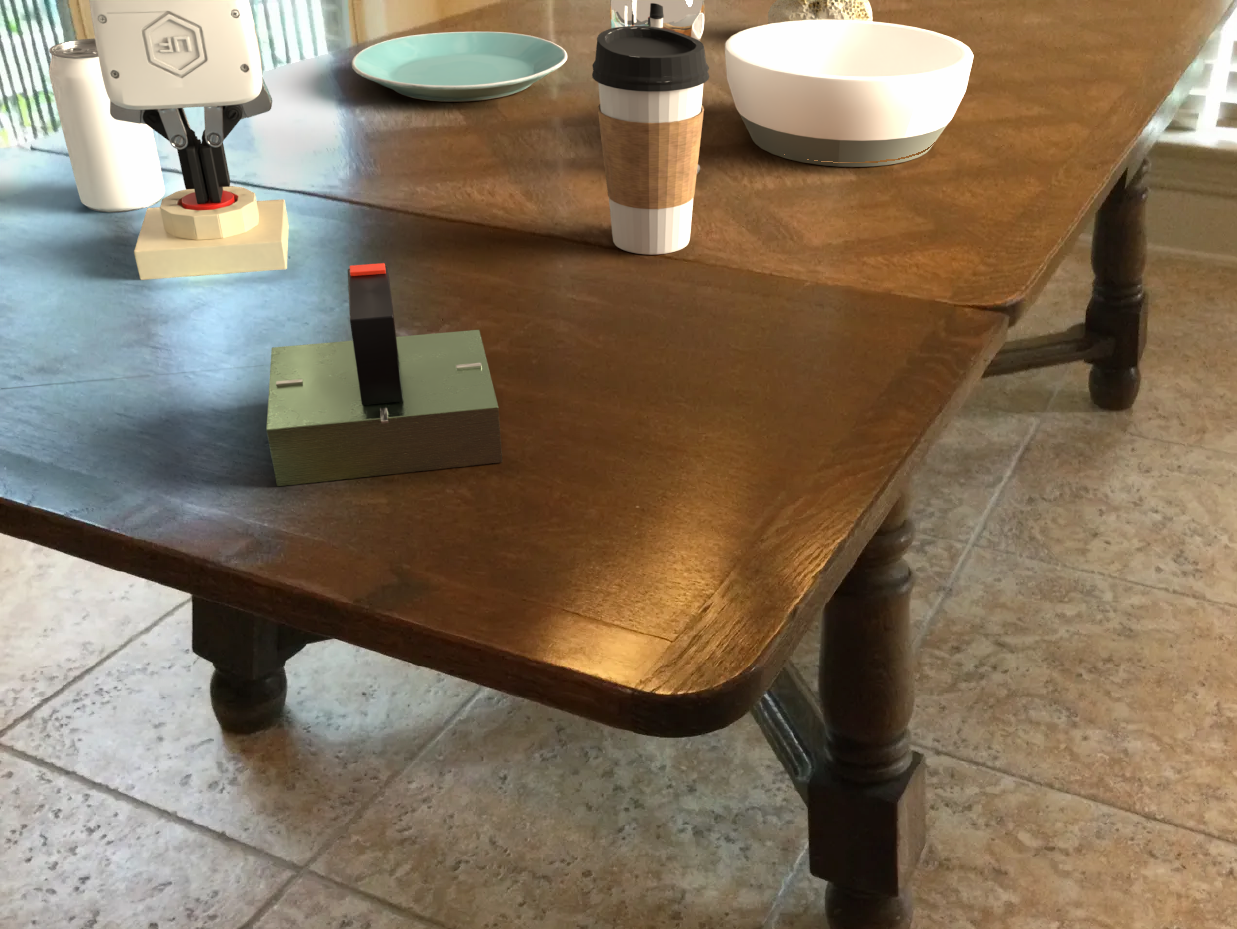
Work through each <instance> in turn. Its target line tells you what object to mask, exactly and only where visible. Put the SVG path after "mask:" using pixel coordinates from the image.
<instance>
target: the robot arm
mask: <svg viewBox="0 0 1237 929" xmlns="http://www.w3.org/2000/svg"><path fill="white" fill-rule="evenodd" d="M88 2H89V3H88V4H89V10H90V17H91V22H92V28H93V29H92V30H93V35H94V39H95V41H96V46H97V52H98V57H99V63H100V68H101V73H102V78H103V82H104V86H105V89H106V92H107V95H108V97H109V99H110V115H111V116H112V117H113V118H114V119H116V120H120V121H126V122H132V123H138V124H147V125H148V126H149V127H151V128H152V129H153V131H154V132H156V133H157V134H158V135H160V136H162V137H163V138H164V139H166V141H168V142H169V143H170V145H171V146H172V147H173V148H174V149H175V150H177V156H178V161H179V165H180V170H181V174H182V180H183V185H184V187H185V190H186V189H194V190H195V195H196V200H197V203H198V204H205V202H208V199H210V201H213V203H221V199H222V193H223V187H230V186H231V177H230V170H229V167H228V162H227V156H226V150H225V145H224V141H225V140H226V139H227V137H228V136H229V135H230V133H231V132H232V131H233V130H234V129H235V127H237V125H238V124H239V122H240V121H241V120H244V119H249V118H253V117H255V116H259V115H262V114H265V113H268V112H269V111H271V109H272V107H273V98H272V95H271V93H270V90H269V89H268V86H267V84H266V82H265V78H264V77H263V61H262V55H261V48H260V43H259V39H258V34H257V29H256V25H255V21H254V17H253V12H252V7H251V4H250V0H88ZM185 108H187V109H188V108H203V116H204V117H203V118H204V129H203V131H202V134H201V139H200V138H198V135H197V134H196V131H195V130H193V128H192V127H191V125H190V122H189V119H188V118H187V114H186V112H185Z"/></svg>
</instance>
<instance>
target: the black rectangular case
mask: <svg viewBox="0 0 1237 929" xmlns="http://www.w3.org/2000/svg"><path fill="white" fill-rule="evenodd" d="M347 287H348V307H349V308H348V309H349V324H350V332H351V337H352V341H353V346H354V353H355V360H356V367H357V374H358V381H359V388H360V396H361V403H362V405H371V404H381V403H392V402H402V401H403V391H402V382H401V373H400V365H399V356H398V347H397V339H396V337H397V332H396V323H395V314H394V307H393V298H392V290H391V280H390V274H389V267H388V265H387V266H386V264H385V263H384V262H382V263H381V262H379V263H369V264H368V263H367V264H354V265H349V268H347Z"/></svg>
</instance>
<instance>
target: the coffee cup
mask: <svg viewBox="0 0 1237 929" xmlns="http://www.w3.org/2000/svg"><path fill="white" fill-rule="evenodd" d="M594 59H595V60H594V62H593V63H592V65H591V66H592V73H591V79H593V80H594V81H595V82H596V83H597V84H598V85H597V86H598V95H599V96H598V97H599V104H598V106H597V111H598V112H597V113H598V121H599V129H600V130H599V131H600V140H601V148H602V155H603V163H604V164H603V165H604V173H605V181H606V191H607V197H608V204H609V214H610V226H611V235H612V236H611V237H612V243H613V244H614V246H616V247H617V248H619V249H620V250H623V251H625V252H629V253H633V254H638V255H648V256H651V255H665V254H671V253H674V252H678V251H680V250H683V249H685V247H687V246H688V245H689V243H690V240H691V231H692V230H691V229H692V217H693V208H694V207H693V206H694V198H695V192H696V184H697V183H696V182H697V177H696V175H697V166H698V164H699V156H700V147H701V138H702V128H703V122H704V121H703V120H704V111H705V108H704V105H702V104H703V94H704V93H703V92H704V84H705V83H707V81H709V79H710V74H709V70H710V66H709V65H708V62H707V59H706V50H705V46H704V43H703V42H702V41H701V40H700V41H699V40H697V39H695V38H693V37H690V36H688V35H685V34H682V33H679V32H675V31H672V30H668V29H664V28H658V27H652V26H625V27H616V28H611V27H610V28H608V29H606V30H604V31H602V32H600V33H599V34H598V35H597V37H596V47H595V58H594Z"/></svg>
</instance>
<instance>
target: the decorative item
mask: <svg viewBox="0 0 1237 929" xmlns="http://www.w3.org/2000/svg"><path fill="white" fill-rule="evenodd" d="M802 20H858V21H872V22H873V11H872V6H871V3H870V1H869V0H776V1H774V2H772V4H771V5H770V6H769V10H768V12H767V22H768V24H772V23H780V22H788V21H802Z"/></svg>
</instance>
